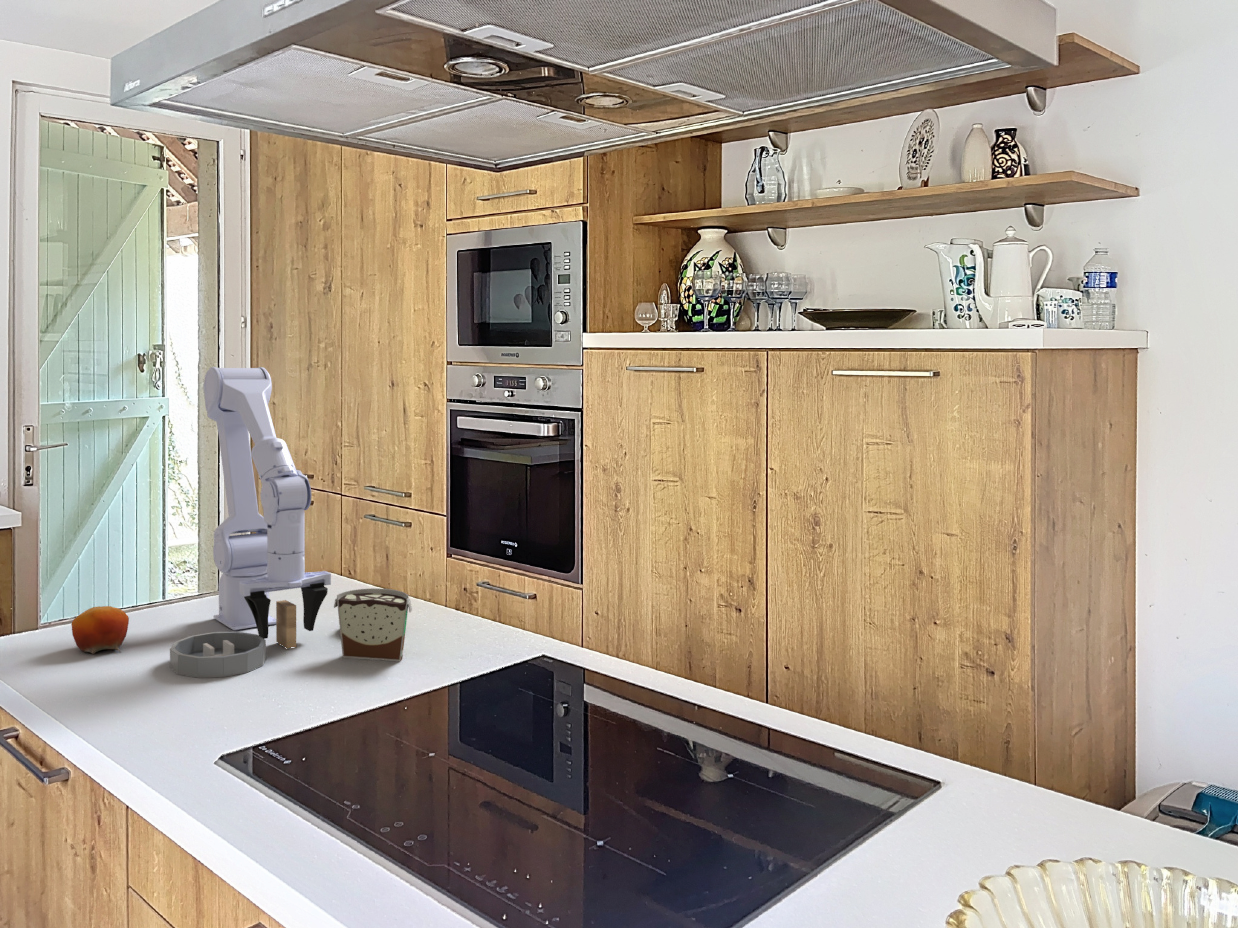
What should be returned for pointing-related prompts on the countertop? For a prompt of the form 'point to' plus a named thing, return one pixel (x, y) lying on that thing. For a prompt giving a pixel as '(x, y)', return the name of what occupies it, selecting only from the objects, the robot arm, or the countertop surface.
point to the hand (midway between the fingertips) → (286, 633)
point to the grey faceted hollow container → (217, 654)
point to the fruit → (100, 629)
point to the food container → (373, 623)
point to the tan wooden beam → (286, 623)
